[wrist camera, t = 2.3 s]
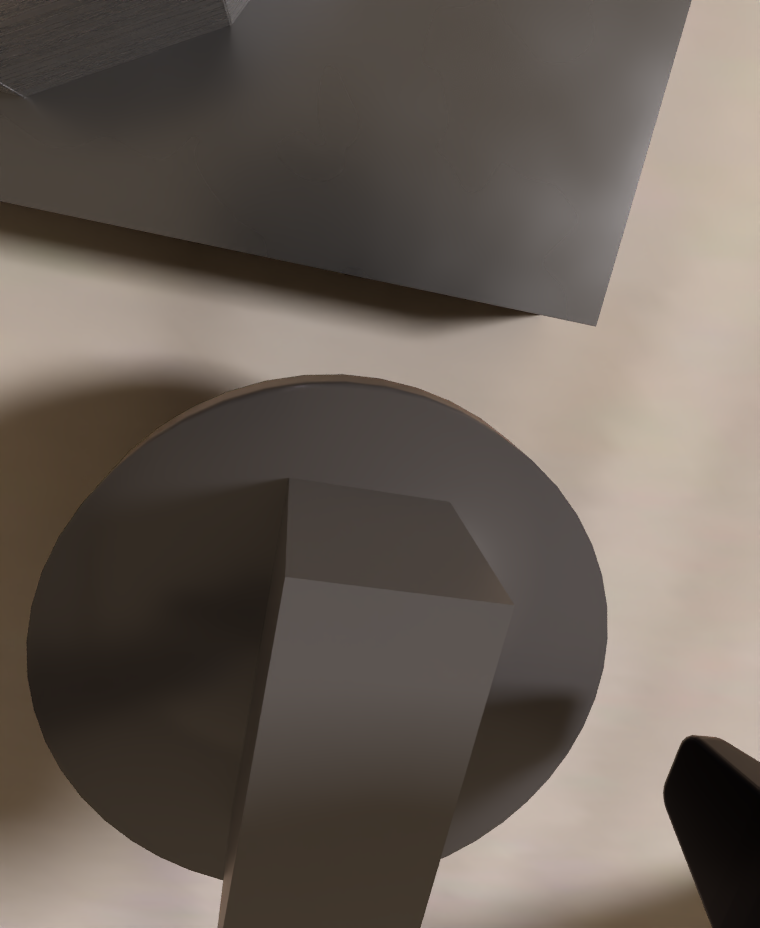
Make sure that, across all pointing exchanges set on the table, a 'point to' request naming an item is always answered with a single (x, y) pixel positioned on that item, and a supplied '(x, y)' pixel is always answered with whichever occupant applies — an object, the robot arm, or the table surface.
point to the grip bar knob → (317, 645)
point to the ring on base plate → (349, 132)
